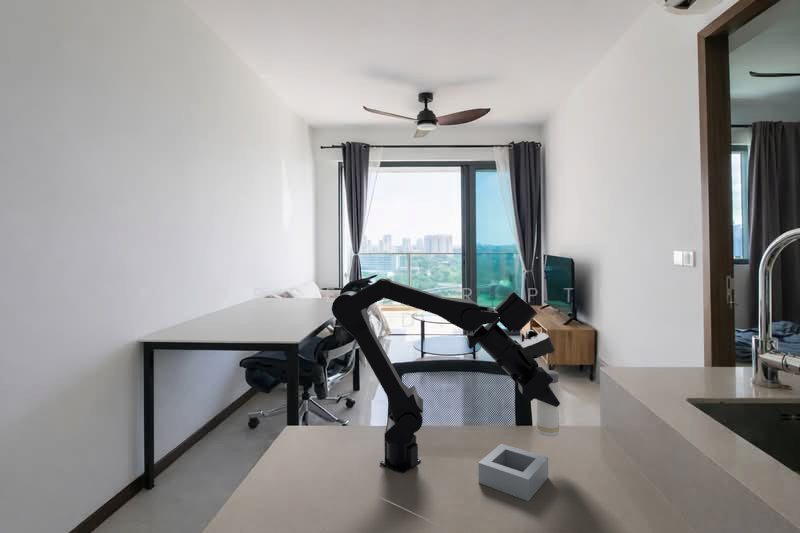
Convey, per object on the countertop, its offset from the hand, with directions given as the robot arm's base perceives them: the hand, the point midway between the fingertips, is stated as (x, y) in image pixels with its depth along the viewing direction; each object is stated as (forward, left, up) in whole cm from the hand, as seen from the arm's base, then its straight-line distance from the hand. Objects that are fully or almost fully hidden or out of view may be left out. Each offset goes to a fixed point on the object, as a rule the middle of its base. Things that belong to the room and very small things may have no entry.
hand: (554, 400), depth 90 cm
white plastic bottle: (-1, -1, -7) cm, 7 cm away
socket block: (-4, -11, -14) cm, 18 cm away
